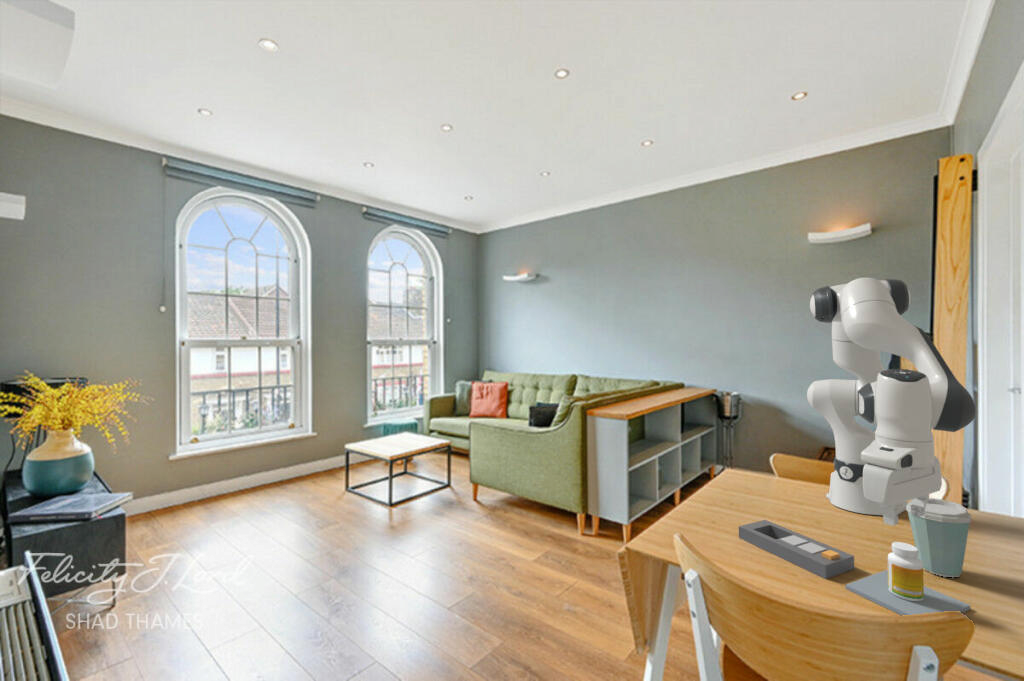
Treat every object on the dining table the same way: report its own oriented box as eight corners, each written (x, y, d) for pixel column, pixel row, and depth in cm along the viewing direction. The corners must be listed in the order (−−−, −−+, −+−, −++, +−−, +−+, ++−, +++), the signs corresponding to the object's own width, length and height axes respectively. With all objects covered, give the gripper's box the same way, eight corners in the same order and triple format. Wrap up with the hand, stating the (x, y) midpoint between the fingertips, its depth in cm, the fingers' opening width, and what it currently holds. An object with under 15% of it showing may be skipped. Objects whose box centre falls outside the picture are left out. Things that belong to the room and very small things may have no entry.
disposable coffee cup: (958, 588, 91) (957, 516, 91) (895, 564, 101) (895, 499, 101) (983, 577, 96) (982, 508, 96) (921, 555, 105) (920, 492, 105)
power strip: (765, 530, 120) (765, 516, 120) (854, 569, 100) (854, 552, 100) (738, 537, 116) (738, 523, 116) (825, 579, 96) (825, 561, 96)
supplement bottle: (931, 603, 85) (930, 553, 85) (898, 601, 86) (898, 551, 86) (911, 588, 90) (911, 541, 90) (881, 585, 92) (881, 539, 92)
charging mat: (885, 573, 98) (885, 570, 98) (970, 609, 85) (970, 605, 85) (845, 588, 92) (845, 584, 92) (929, 628, 79) (929, 624, 79)
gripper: (913, 441, 95) (914, 504, 95) (855, 454, 87) (856, 523, 88) (951, 447, 89) (952, 515, 90) (892, 462, 81) (894, 536, 82)
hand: (904, 519), depth 89 cm, fingers open, 8 cm apart
